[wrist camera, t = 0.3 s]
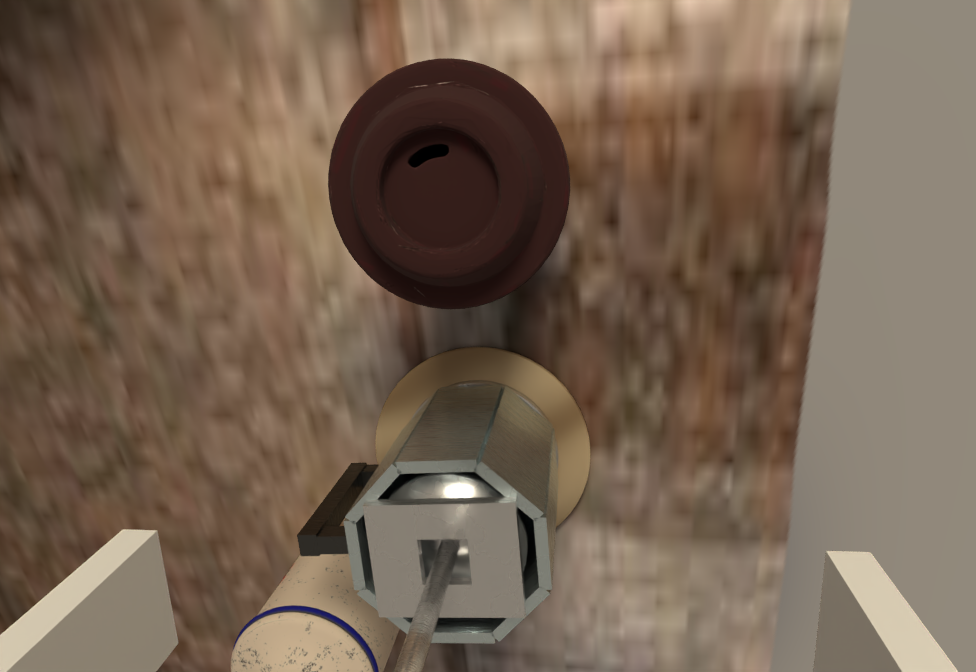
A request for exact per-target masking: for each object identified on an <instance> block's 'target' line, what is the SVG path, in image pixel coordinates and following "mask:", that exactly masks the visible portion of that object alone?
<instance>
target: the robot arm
mask: <svg viewBox="0 0 976 672" xmlns="http://www.w3.org/2000/svg"><path fill="white" fill-rule="evenodd" d="M177 644H178V638H177V633H176V628H175V622H174V617H173V612H172V606H171V601H170V596H169V590H168V585H167V580H166V574H165V569H164V564H163V558H162V553H161V548H160V542H159V537H158V532H157V530H125V529H123V530H122V531H120V532H119V533H118V534H117V535H116V536H115V537H114V538H112V539H111V540H110V541H109V542H108V543H107V544H105V545H104V546H103V547H102V548H101V549H100V550H98V551H97V552H96V553H95V554H94V555H93V556H91V557H90V558H89V559H88V560H87V561H86V562H84V563H83V564H82V565H81V566H80V567H79V568H78V569H76V570H75V571H74V572H73V573H72V574H71V575H69V576H68V577H67V578H66V579H65V580H64V581H62V582H61V583H60V584H59V585H58V586H57V587H55V588H54V589H53V590H52V591H51V592H50V593H49V594H47V595H46V596H45V597H44V598H43V599H42V600H40V601H39V602H38V603H37V604H36V605H35V606H33V607H32V608H31V609H30V610H29V611H28V612H26V613H25V614H24V615H23V616H22V617H21V618H20V619H18V620H17V621H16V622H15V623H14V624H13V625H11V626H10V627H9V628H8V629H7V630H6V631H4V632H3V633H2V634H1V635H0V672H156V671H157V670H158V668H159V667H160V666H161V665H162V663H163V662H164V661H165V660H166V658H167V657H168V656H169V654H170V653H171V652H172V651H173V649H174V648H175V647H176V646H177ZM813 672H958V671H957V669H956V668H955V667H954V666H953V664H952V663H951V661H950V660H949V659H948V657H947V656H946V655H945V653H944V652H943V650H942V649H941V648H940V646H939V645H938V644H937V642H936V641H935V640H934V638H933V637H932V635H931V634H930V633H929V632H928V630H927V629H926V627H925V626H924V625H923V624H922V622H921V621H920V619H919V618H918V616H917V615H916V614H915V612H914V611H913V610H912V608H911V607H910V606H909V604H908V603H907V602H906V600H905V599H904V597H903V596H902V595H901V593H900V592H899V591H898V589H897V588H896V587H895V585H894V584H893V583H892V581H891V580H890V578H889V577H888V576H887V574H886V573H885V572H884V570H883V569H882V568H881V566H880V565H879V564H878V562H877V561H876V559H875V558H874V557H873V555H872V554H871V553H870V552H844V551H842V552H840V551H826V556H825V565H824V574H823V584H822V594H821V603H820V612H819V622H818V631H817V640H816V650H815V660H814V668H813Z"/></svg>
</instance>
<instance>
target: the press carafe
mask: <svg viewBox="0 0 976 672" xmlns="http://www.w3.org/2000/svg"><path fill="white" fill-rule="evenodd" d="M552 427H553V425H552V424H551V423H550V422H549V420H548V418H547V417H546V415H545V414H544V413H543V411H542V410H541V409H540V408H539V406H537V405H536V404H535V403H534V402H533V401H532V400H531V399H530V398H528V397H527V396H526V395H524V394H523V393H521V392H520V391H518V390H516V389H514V388H512V387H509V386H507V385H505V384H501V383H497V382H493V381H486V380H469V381H462V382H458V383H454V384H451V385H448V386H446V387H441V389H440V390H439V389H437V391H436V392H435V393H434V394H432V395H431V396H430V397H428V398H427V399H426V400H425V401H424V402H423V403H422V404H421V405H420V407H419V408H418V409H417V411H416V412H415V414H414V415H413V417H412V419H411V420H410V421H409V423H408V424H407V425H406V426H405V427H404V428H403V429H402V431H401V432H400V434H399V435H398V437H397V438H396V440H395V441H394V443H393V444H392V446H391V447H390V449H389V450H388V452H387V454H386V455H385V457H384V458H383V460H382V461H381V463H380V464H379V465H367V463H351V464H350V466H349V467H348V468H347V470H346V471H345V472H344V474H343V475H342V476H341V478H340V479H339V480H338V482H337V483H336V484H335V486H334V487H333V488H332V490H331V491H330V492H329V494H328V495H327V496H326V498H325V499H324V500H323V502H322V503H321V504H320V506H319V507H318V508H317V510H316V511H315V512H314V514H313V515H312V516H311V518H310V519H309V520H308V522H307V523H306V524H305V526H304V527H303V528H302V530H301V531H300V532H299V534H298V535H297V537H298V542H299V548H300V554H301V556H320V555H321V554H349V559H350V565H351V572H352V578H353V585H354V590H359V591H358V593H357V595H359V596H360V597H361V598H362V599H364V600H365V601H366V602H367V603H369V604H370V605H371V606H372V607H374V608H375V609H376V610H377V611H378V614H379V617H386V618H387V619H389V620H390V621H391V622H392V623H394V624H395V625H396V626H397V627H399V628H400V629H401V630H402V631H404V632H405V633H406V634H407V633H408V631H409V628H410V625H411V622H412V620H413V617H414V614H415V611H416V609H417V606H418V603H419V600H420V597H421V595H422V592H423V589H424V586H425V584H426V581H427V578H428V577H425V571H424V563H423V555H422V547H421V540H436V539H467V543H468V552H469V561H470V570H471V577H451V579H450V582H449V586H448V589H447V592H446V595H445V599H444V602H443V605H442V608H441V612H440V615H439V618H438V621H437V625H436V628H435V631H434V634H433V638H432V641H431V643H495V641H496V640H498V641H499V642H500V641H501V640H502V639H503V638H504V637H505V636H506V635H507V634H508V633H509V632H510V631H511V630H512V629H513V628H515V627H516V626H517V625H518V624H519V623H520V622H521V621H522V620H523V619H524V618H526V616H527V615H528V614H529V613H530V612H531V611H533V610H534V609H535V608H536V607H537V606H538V605H539V604H540V603H541V602H542V601H543V600H544V599H545V598H546V597H547V596H548V595H549V594H550V590H552V580H553V564H554V548H555V532H556V516H557V501H558V485H559V484H558V444H557V440H556V436H555V429H554V428H552ZM446 472H475V473H477V474H478V475H479V476H481V477H482V478H483V479H484V480H486V481H487V482H488V483H489V484H490V485H492V486H493V487H494V488H495V489H496V490H498V491H499V492H500V493H501V494H502V495H504V496H505V497H472V498H428V499H388V498H389V496H390V495H391V494H392V492H393V491H394V490H395V489H396V488H397V487H398V486H399V485H400V484H401V483H403V482H404V481H405V480H407V479H408V478H410V477H412V476H414V475H416V474H418V473H446ZM517 507H518V508H519V509H520V511H521V513H522V515H523V517H524V520H525V523H526V527H527V532H528V552H527V559H526V565H525V568H524V572H523V565H522V554H521V542H520V531H519V520H518V508H517ZM344 518H345V520H344V526H340V524H341V522H342V521H343V519H344Z"/></svg>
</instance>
